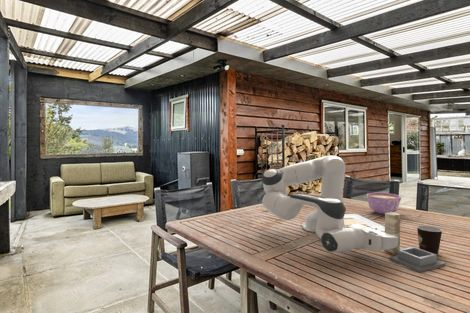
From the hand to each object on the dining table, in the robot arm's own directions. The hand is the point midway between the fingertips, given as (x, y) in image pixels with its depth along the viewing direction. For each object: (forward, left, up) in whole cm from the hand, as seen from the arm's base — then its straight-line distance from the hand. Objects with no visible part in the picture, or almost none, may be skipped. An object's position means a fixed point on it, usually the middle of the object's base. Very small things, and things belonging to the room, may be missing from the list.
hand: (385, 232), depth 116 cm
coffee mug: (+20, +4, -9) cm, 22 cm away
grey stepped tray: (+8, -8, -9) cm, 14 cm away
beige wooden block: (+4, +3, -9) cm, 10 cm away
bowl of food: (+29, +70, -9) cm, 76 cm away
